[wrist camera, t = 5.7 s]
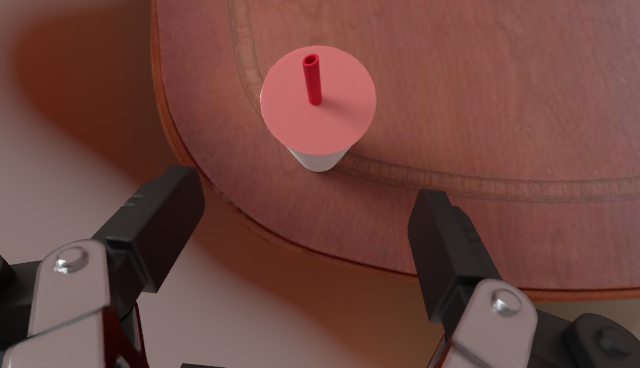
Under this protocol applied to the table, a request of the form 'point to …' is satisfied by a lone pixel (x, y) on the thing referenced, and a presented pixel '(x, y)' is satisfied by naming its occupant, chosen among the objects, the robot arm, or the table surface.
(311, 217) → the table surface
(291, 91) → the cup
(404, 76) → the table surface
